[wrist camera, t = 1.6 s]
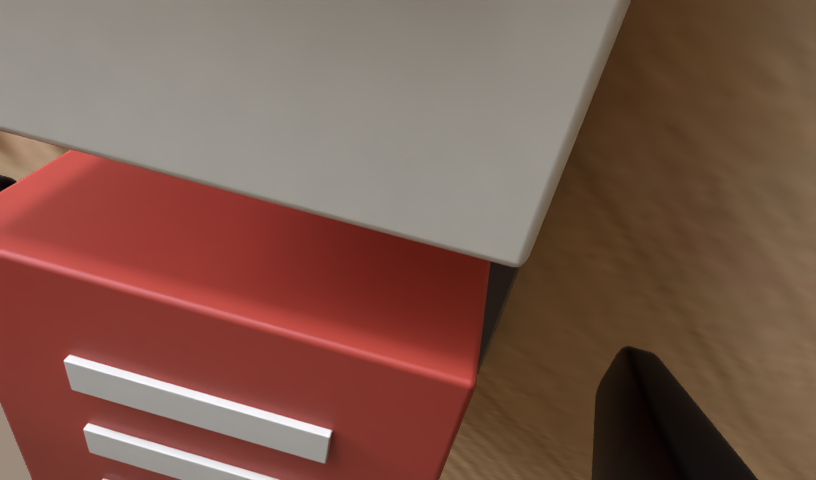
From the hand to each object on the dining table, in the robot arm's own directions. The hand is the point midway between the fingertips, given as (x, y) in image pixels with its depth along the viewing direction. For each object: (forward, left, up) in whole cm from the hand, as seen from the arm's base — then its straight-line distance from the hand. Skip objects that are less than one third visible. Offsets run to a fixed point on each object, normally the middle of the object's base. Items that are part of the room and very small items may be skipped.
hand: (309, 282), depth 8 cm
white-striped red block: (0, 0, -1) cm, 1 cm away
